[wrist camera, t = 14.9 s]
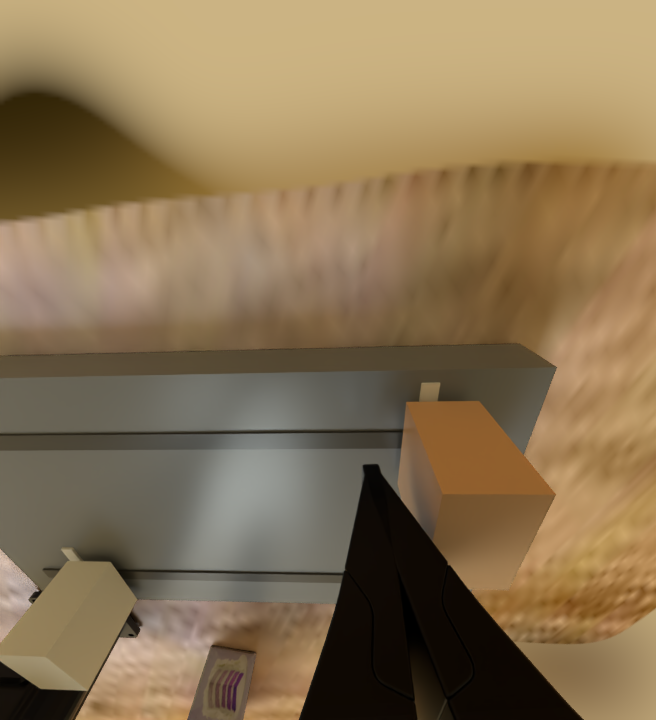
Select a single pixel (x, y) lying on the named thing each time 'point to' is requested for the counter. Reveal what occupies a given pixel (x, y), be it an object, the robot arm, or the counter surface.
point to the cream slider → (69, 627)
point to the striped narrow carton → (223, 685)
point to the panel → (224, 458)
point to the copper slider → (471, 490)
